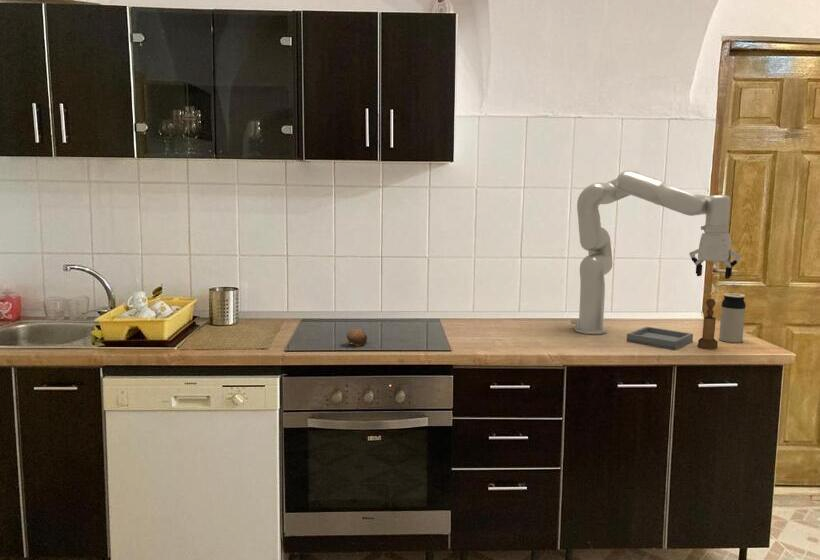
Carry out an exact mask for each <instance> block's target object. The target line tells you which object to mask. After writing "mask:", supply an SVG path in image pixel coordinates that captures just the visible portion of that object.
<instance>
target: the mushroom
mask: <svg viewBox="0 0 820 560" xmlns="http://www.w3.org/2000/svg"><path fill="white" fill-rule="evenodd" d="M346 339H347V341H348V344H350V343H352V344H353V346H356V347H362V346H361V345H363V346H364V345H366V344H367V341H368V336H367V334H366V332H364V331H363V330H362V329H360V328H353V329H350V330H349V331H348V332H347V333H346ZM352 344H351V345H352Z"/></svg>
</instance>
